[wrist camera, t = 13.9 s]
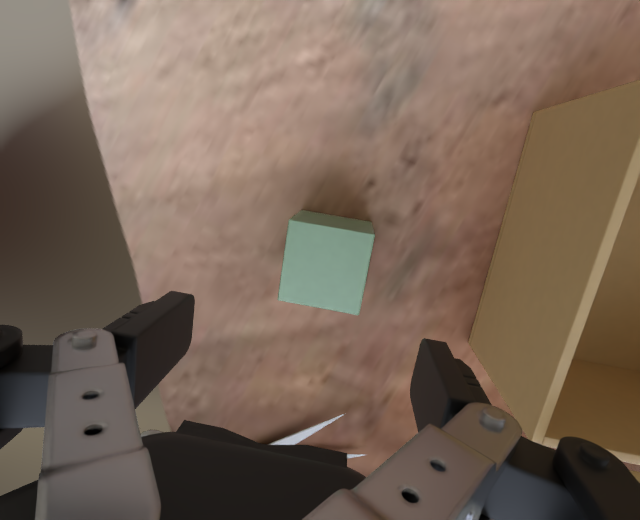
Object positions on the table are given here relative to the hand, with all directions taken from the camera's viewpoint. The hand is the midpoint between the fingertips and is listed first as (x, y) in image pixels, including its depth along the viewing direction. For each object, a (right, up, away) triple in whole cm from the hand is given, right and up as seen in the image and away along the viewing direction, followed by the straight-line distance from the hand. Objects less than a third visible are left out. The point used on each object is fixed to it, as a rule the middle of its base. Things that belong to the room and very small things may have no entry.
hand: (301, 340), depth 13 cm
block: (+1, +3, +14) cm, 15 cm away
